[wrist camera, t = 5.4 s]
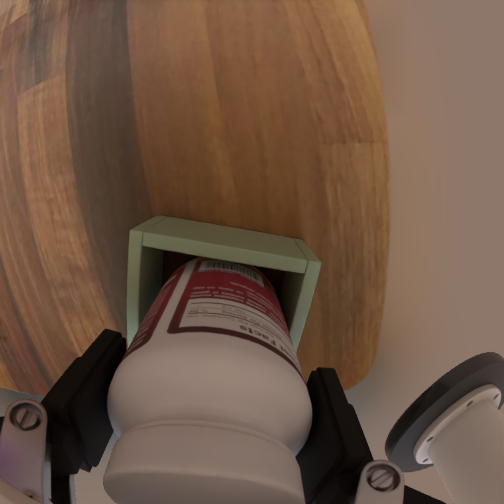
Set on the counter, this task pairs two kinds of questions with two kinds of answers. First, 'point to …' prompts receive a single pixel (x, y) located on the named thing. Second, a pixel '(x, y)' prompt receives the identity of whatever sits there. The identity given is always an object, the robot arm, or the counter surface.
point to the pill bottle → (209, 395)
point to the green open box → (223, 248)
